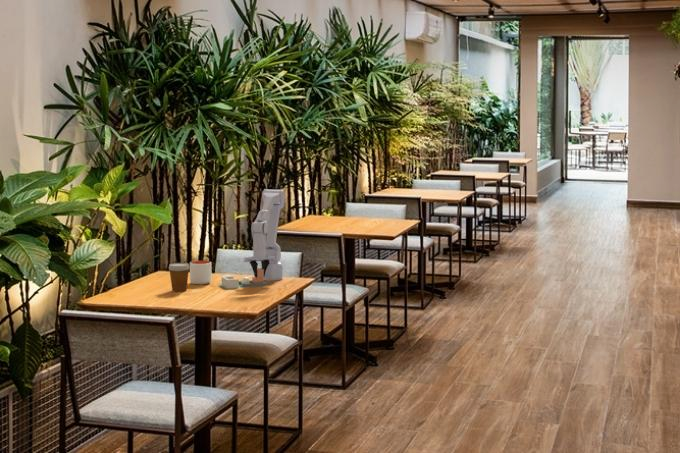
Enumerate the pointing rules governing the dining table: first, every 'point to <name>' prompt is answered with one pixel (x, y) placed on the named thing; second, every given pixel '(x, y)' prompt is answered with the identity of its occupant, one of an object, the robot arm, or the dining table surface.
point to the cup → (200, 272)
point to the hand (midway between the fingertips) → (259, 276)
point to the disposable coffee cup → (179, 276)
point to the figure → (259, 276)
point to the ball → (245, 280)
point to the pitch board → (238, 283)
